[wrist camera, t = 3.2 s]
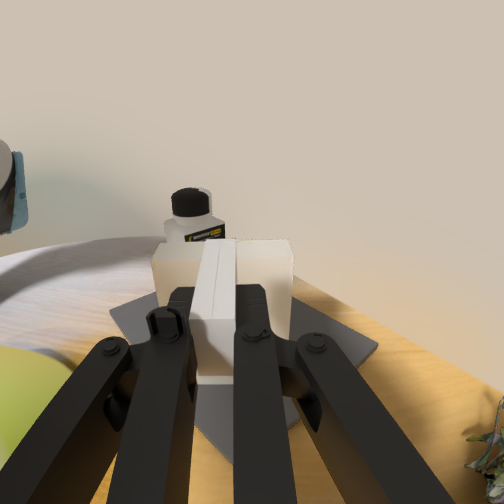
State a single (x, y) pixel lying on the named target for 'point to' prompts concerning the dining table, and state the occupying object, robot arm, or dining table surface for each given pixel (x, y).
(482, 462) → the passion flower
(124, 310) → the mat
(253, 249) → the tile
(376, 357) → the dining table surface
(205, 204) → the medicine bottle
